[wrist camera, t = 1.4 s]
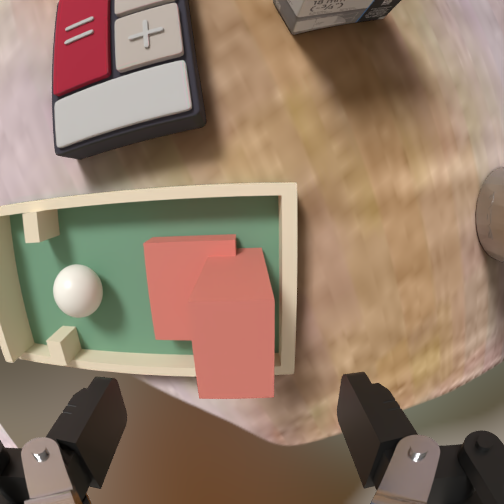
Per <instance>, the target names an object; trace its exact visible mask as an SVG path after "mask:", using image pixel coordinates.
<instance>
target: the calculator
mask: <svg viewBox="0 0 504 504" xmlns="http://www.w3.org/2000/svg"><path fill="white" fill-rule="evenodd" d="M52 113H53V133H54V147H55V153H56V155H58V156H63V157H68V158H74V159H83V158H86V157H90V156H93V155H96V154H99V153H102V152H106V151H109V150H112V149H116V148H119V147H123V146H126V145H130V144H133V143H137V142H141V141H145V140H149V139H153V138H157V137H161V136H165V135H169V134H173V133H178V132H182V131H187V130H191V129H196V128H201V127H203V126H204V125H205V124H206V115H205V109H204V102H203V96H202V90H201V83H200V77H199V72H198V66H197V60H196V53H195V46H194V39H193V32H192V25H191V17H190V10H189V3H188V0H60V1H59V2H58V5H57V12H56V21H55V32H54V44H53V64H52Z"/></svg>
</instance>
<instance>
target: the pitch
mask: <svg viewBox="0 0 504 504" xmlns="http://www.w3.org/2000/svg"><path fill="white" fill-rule="evenodd" d="M227 234H236V247H237V248H262V251H263V255H264V259H265V263H266V267H267V271H268V275H269V279H270V283H271V287H272V291H273V295H274V299H275V340H274V375H287V374H294V365H295V340H296V307H297V183H294V182H270V183H231V184H207V185H188V186H172V187H157V188H144V189H132V190H121V191H110V192H100V193H91V194H82V195H74V196H65V197H58V198H50V199H43V200H36V201H29V202H22V203H16V204H10V205H4V206H0V345H1V349H2V351H3V354H4V357H5V360H6V361H7V362H12V363H13V362H15V360H17V359H18V358H20V359H24V360H29V361H35V362H40V363H47V364H53V365H59V366H66V367H74V368H81V369H89V370H98V371H108V372H118V373H130V374H144V375H162V376H191V377H196V371H195V364H194V356H193V348H192V340H156V339H155V333H154V327H153V320H152V314H151V306H150V299H149V291H148V283H147V275H146V266H145V256H144V246H143V243H144V242H146V241H147V240H149V239H151V238H152V237H170V236H197V235H227ZM75 264H80V265H85V266H87V267H89V268H91V269H92V270H93V271H94V272H95V273H96V274H97V275H98V277H99V278H100V280H101V283H102V287H103V297H102V301H101V303H100V305H99V307H98V308H97V310H96V311H95V312H93V313H92V314H91V315H89V316H86V317H82V318H76V317H71V316H69V315H67V314H65V313H64V312H63V311H62V310H61V309H60V308H59V307H58V305H57V304H56V302H55V299H54V295H53V286H54V282H55V279H56V277H57V275H58V274H59V273H60V271H61V270H63V269H64V268H65V267H67V266H70V265H75Z"/></svg>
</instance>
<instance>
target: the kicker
mask: <svg viewBox="0 0 504 504" xmlns="http://www.w3.org/2000/svg"><path fill="white" fill-rule="evenodd" d="M143 246H144V256H145V266H146V275H147V283H148V291H149V299H150V306H151V314H152V320H153V327H154V333H155V339H156V340H192V348H193V356H194V364H195V371H196V379H197V386H198V393H199V398H202V399H239V398H269V397H274V340H275V299H274V295H273V291H272V287H271V283H270V279H269V275H268V271H267V267H266V263H265V259H264V255H263V251H262V248H237V247H236V234H227V235H197V236H170V237H152V238H151V239H149V240H147V241H146V242H144V243H143Z"/></svg>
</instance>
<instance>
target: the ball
mask: <svg viewBox="0 0 504 504" xmlns="http://www.w3.org/2000/svg"><path fill="white" fill-rule="evenodd" d="M53 295H54V299H55V302H56V304H57V305H58V307H59V308H60V309H61V310H62V311H63V312H64V313H65V314H67V315H69V316H71V317H76V318H82V317H86V316H89V315H91V314H92V313H93V312H95V311H96V310H97V308H98V307H99V305H100V303H101V301H102V297H103V287H102V283H101V280H100V278H99V277H98V275H97V274H96V273H95V272H94V271H93V270H92V269H91V268H89V267H87V266H85V265H80V264H75V265H70V266H67V267H65V268H64V269H63V270H61V271H60V273H59V274H58V275H57V277H56V279H55V282H54V286H53Z"/></svg>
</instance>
